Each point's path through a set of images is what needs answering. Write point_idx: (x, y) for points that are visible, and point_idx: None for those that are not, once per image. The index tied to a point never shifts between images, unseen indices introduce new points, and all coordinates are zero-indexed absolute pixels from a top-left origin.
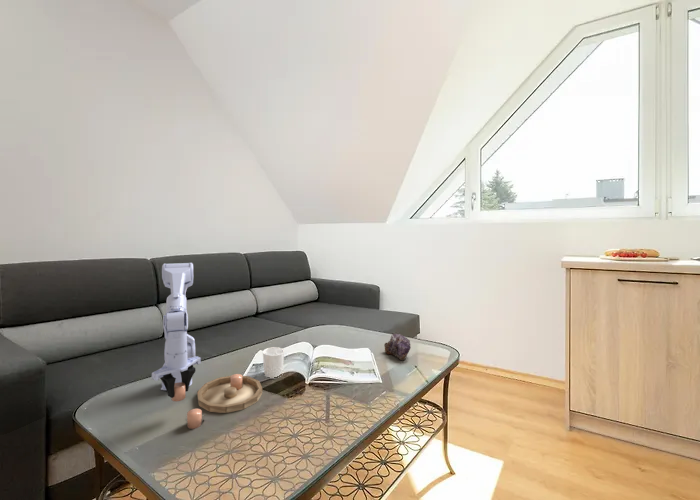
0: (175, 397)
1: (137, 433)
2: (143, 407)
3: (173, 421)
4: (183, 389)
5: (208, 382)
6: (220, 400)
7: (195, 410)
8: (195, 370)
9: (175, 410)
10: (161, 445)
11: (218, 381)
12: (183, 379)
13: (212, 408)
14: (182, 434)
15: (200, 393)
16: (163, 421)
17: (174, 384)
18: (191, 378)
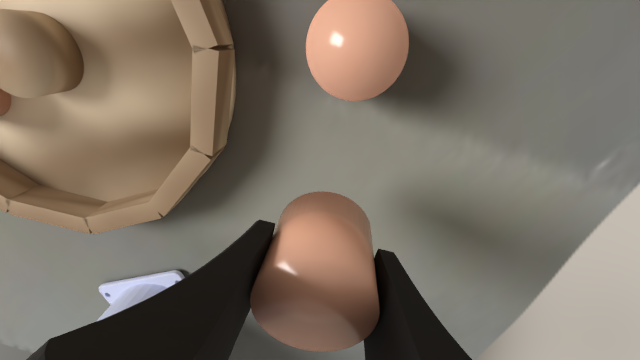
0: (369, 238)
1: (495, 238)
2: None
3: (371, 169)
4: (313, 240)
5: (72, 226)
6: (120, 70)
7: (333, 60)
8: (31, 355)
9: None
10: (572, 73)
11: (27, 195)
12: (233, 332)
13: (216, 21)
14: (455, 40)
15: (163, 192)
16: (387, 207)
17: (414, 348)
18: (181, 280)
